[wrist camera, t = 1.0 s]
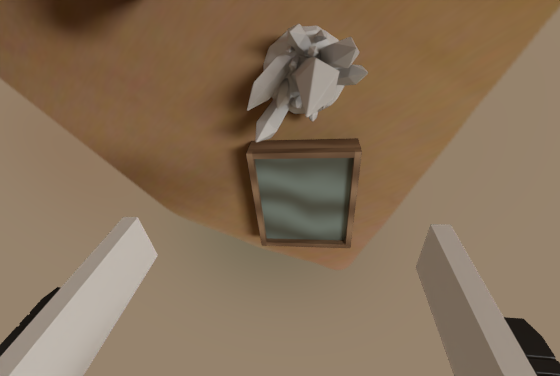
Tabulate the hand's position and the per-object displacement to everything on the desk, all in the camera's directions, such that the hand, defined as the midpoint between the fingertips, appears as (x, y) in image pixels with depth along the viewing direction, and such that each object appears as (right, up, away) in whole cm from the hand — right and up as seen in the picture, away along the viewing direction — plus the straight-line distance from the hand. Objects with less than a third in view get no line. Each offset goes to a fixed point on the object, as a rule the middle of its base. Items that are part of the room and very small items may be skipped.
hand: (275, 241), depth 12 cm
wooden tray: (+4, +2, +29) cm, 30 cm away
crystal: (+3, +16, +19) cm, 25 cm away
